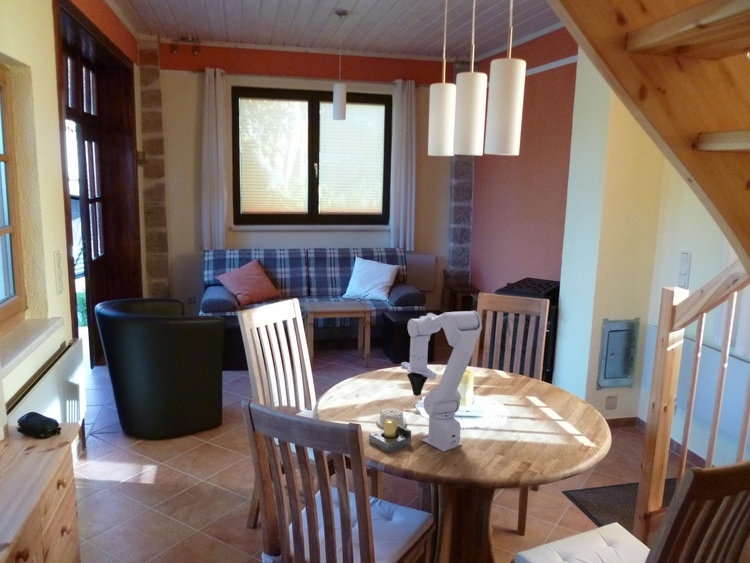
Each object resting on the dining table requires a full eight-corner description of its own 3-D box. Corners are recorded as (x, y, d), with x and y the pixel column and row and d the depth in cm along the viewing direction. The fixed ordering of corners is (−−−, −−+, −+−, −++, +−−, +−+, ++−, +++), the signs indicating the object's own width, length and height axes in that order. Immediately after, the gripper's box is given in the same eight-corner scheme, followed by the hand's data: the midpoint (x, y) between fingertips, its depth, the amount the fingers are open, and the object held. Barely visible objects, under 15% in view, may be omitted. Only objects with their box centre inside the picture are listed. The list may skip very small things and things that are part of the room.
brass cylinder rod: (399, 443, 182) (399, 422, 180) (389, 447, 179) (390, 425, 178) (390, 439, 185) (390, 418, 183) (380, 443, 182) (381, 421, 181)
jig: (410, 444, 181) (411, 430, 180) (388, 452, 175) (388, 438, 175) (391, 434, 188) (391, 421, 187) (369, 441, 182) (369, 427, 182)
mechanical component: (372, 428, 193) (403, 432, 191) (373, 415, 192) (403, 419, 190) (379, 417, 203) (408, 420, 200) (380, 404, 202) (409, 408, 200)
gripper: (394, 351, 197) (393, 391, 199) (425, 362, 185) (423, 404, 188) (410, 348, 201) (409, 386, 203) (441, 358, 190) (439, 399, 192)
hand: (417, 394), depth 196 cm, fingers closed
